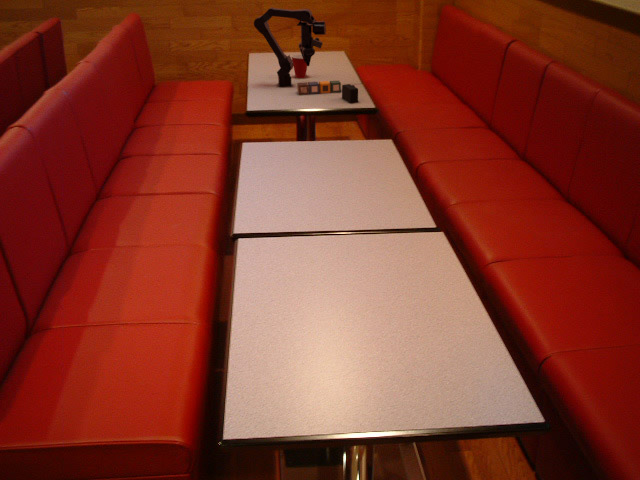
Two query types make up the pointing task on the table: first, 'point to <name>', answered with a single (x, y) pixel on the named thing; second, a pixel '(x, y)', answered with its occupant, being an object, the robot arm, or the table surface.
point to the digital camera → (350, 93)
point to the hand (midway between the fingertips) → (306, 64)
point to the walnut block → (302, 88)
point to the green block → (335, 86)
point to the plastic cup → (299, 66)
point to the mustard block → (324, 87)
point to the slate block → (313, 87)
